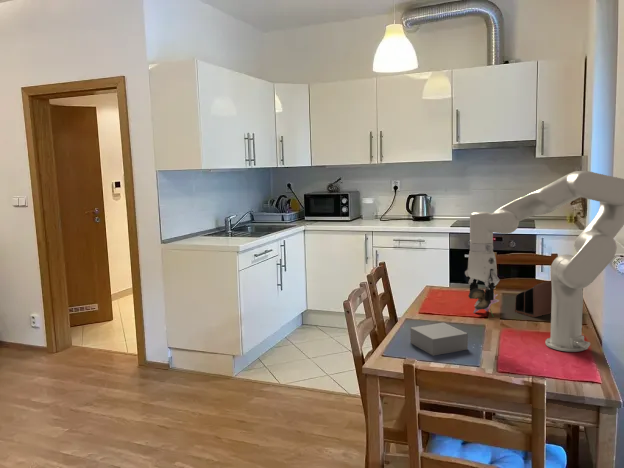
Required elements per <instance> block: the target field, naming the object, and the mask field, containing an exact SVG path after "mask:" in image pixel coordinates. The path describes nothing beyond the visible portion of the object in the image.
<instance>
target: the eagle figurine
mask: <svg viewBox="0 0 624 468" xmlns="http://www.w3.org/2000/svg"><path fill="white" fill-rule="evenodd" d="M468 298H469V299H470V300H473V299H474V300H476V302H475V303H474V305H476V306H474V310H475V309H478V311H481V310H484V309H486V308H488V306H489V304H490V303H491V301H486V300H485V290H484V289H483V288H479V287H478V288H475V289H473V290H471V292H470V291H469V293H468Z"/></svg>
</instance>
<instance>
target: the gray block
mask: <svg viewBox="0 0 624 468" xmlns="http://www.w3.org/2000/svg"><path fill="white" fill-rule="evenodd" d="M468 336H469V334H468V332H466V331H463V330H461V329H458V327H457V328H456V327H454V326H452V325H450V324H447V323H446V322H439V323H437V322H436V323H432V324H426V325H418V326H413V327H410V344H412V345H414V346H415V347H417V348H418V349H420V350H422V351H424V352H426V353H427V354H429V355H431V356H438V355H444V354H449V353H455V352H461V351H467V350H468V348H469V347H468V344H469V341H468V338H469V337H468Z"/></svg>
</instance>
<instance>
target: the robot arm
mask: <svg viewBox="0 0 624 468" xmlns="http://www.w3.org/2000/svg"><path fill="white" fill-rule="evenodd" d="M580 198H583V199H587V200H591V201H596V202H599V208H598V211H597V213H596V214H595V216H594V217H593V219H592V220H591V221H590V222H589V224H588V225H587V226H585V228H584V229H583V230H582V231H581V233H580V234H579V235H578V236H577V237H576V239H575V241H574V244H573V245H574V248H575V249H574V250H575V251H576V252H577V253H576V254H575V255H572V254H561V255H559V256H556V257H555V258H554V260H553V261H552V263H551V265H550V281H551V283H552V303H551V314H550V337H549V338H548V337H547V338H546V339H545V345H546V346H547V348H550V349H553V350H557V351H560V352H561V351H562V352H569V353H577V352H583V351H585V350H589V347H590V346H591V342H590V341H587V340H585V336H584V335H583V334H582V331H583V330H582V329H583V328H582V327H583V305H584V292H583V290H584V288H587V287H589V286H590V285H592V283H593V282H594V281H595V280H596V279H597V277H599V275H600V274H601V273H602V272H603V271H604V270H605V269H606V267H608V266H609V264H610V263H611V262H612V261H613V260H614V258H615V255H616V253H617V244H616V240H615V239H614V238H615V237H616V236H617V235H618V234H619V232H620V231H621V229H622V228H623V227H624V178H621V177H617V176H613V175H607V174H604V173H602V174H601V173H598V172H593V171H590V170H576V171H575V170H574V171H572V172H570V173H567V174H566V175H564V176H562V177H559V178H558V179H556V180H554V181H553V182H551V183H549V184H547V185H545V186H543V187H541V188H539V189H537V190H535V191H532V192H530V193H528V194H527V195H524V196H521V197H519V198H517V199H514V200H513V201H510V202H509V203H507V204H505V205H503V206H501V207H499V208H498V209H495V211H493V212H492V213H491V212H489V211H474V212H473V211H472V213H471V214H470V215H469V253H468V260H467V268H466V270H465V271H464V275H465V276H466V279H467V281H468V285H469V293H470V292H471V290H473V289H475V288H478V289H479V284H478V282H483V283H484V286H485V288H486V289H485V290H484V291H485V300H486V301H491V300H494V295H495V292H494V291H495V289H496V287H497V286H498V284H499V282H500V278H499V277H498V269H497V268H498V267H497V266H498V265H497V257H496V254H495V252H494V233H496V234H503V235H505V234H507V235H508V234H511V233H514V232H515V231H516V230H517V229H518V228H519V224H520V223H519V222H521V221H523V220H526V219H527V218H528V219H529V218H532V217H535V216H540V215H546V214H550V213H553V212H554V211H556V210H558V209H560V208H562V207H563V206H565V205H567V204H569V203H571V202H573V201H575V200H578V199H580Z"/></svg>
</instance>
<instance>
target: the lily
mask: <svg viewBox="0 0 624 468" xmlns="http://www.w3.org/2000/svg"><path fill="white" fill-rule="evenodd" d="M498 295H499V294H498V293H497V294H494V300H491V303H490V304H489V306H488V308H486V309H483V310H484V311H486V312H489V310H490V312H491V316H492V317H495V316H494V315H493V312H492V309H491V306H492V305H493V304H497V303H499V302H500V299H497V298H496V297H497V296H498ZM473 306H474V307H475V306H476V305H475V304H474V305H473ZM476 312H479V310H478V309H475V308H474V310H473V314H476Z"/></svg>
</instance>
